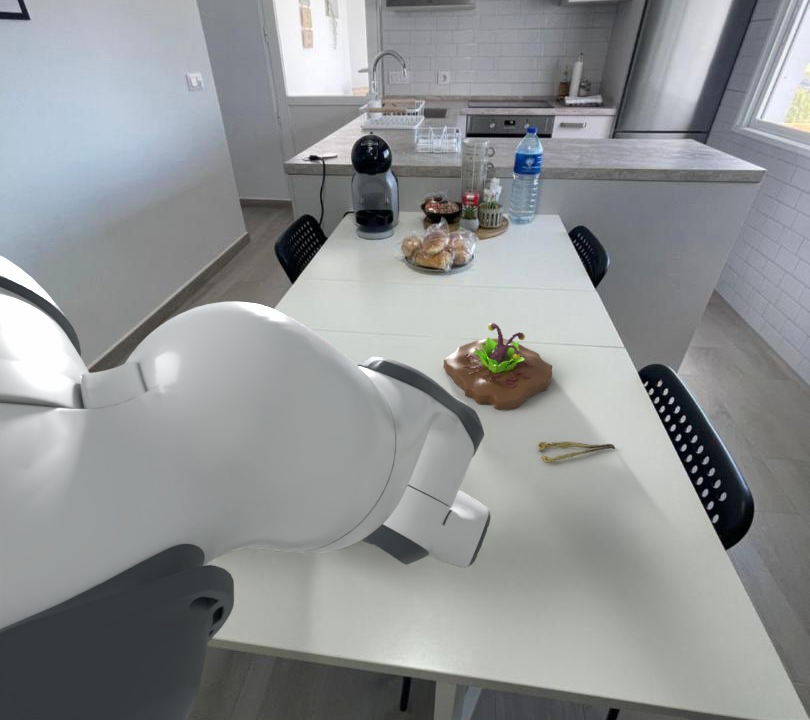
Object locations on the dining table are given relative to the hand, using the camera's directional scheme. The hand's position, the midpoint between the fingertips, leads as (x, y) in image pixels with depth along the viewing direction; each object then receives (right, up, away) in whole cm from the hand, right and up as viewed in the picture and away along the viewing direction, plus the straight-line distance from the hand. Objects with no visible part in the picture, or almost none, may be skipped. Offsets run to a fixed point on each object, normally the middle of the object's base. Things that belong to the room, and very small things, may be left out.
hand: (293, 448), depth 66 cm
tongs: (+45, -2, +9) cm, 46 cm away
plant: (+35, +10, +26) cm, 45 cm away
